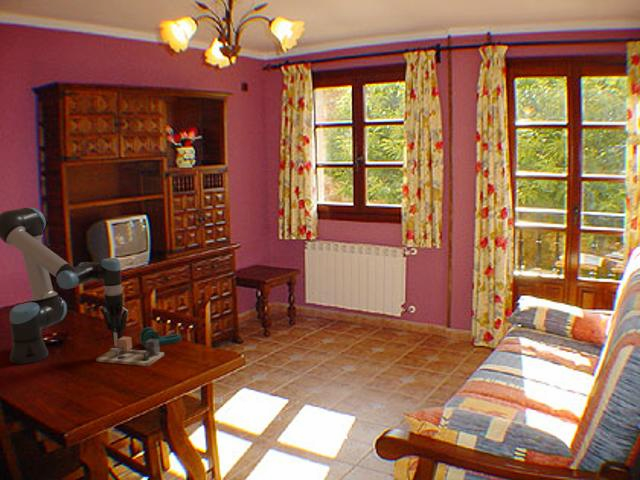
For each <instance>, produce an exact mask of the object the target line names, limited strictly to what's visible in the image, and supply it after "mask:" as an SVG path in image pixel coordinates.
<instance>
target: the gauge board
mask: <svg viewBox="0 0 640 480" xmlns="http://www.w3.org/2000/svg"><path fill="white" fill-rule="evenodd" d="M118 349H119V347H116V348H115V347H111V348H110V349H109V351H107V352H106V353H104V354H102V355H100V356H98V357H97V358H96V362H99V363H110V364H111V363H112V364H120V365H122V364H123V365H132V366H133V365H134V366H144V367H149V366H151V365H152V364H154V363H155V362H157V361H158V360H160V359H161V358H162V357H164V356H165V352H164V351H162V352H161V351H160V346H159V339H149V340H148V341H146V349H145V350H140V349H130V350H128V351H120V352H118V357H116V352H115V351H116V350H118Z"/></svg>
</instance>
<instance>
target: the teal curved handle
mask: <svg viewBox="0 0 640 480" xmlns="http://www.w3.org/2000/svg"><path fill="white" fill-rule="evenodd" d="M139 335H140V345H141V346H142V347H143V348H144V349H145V348H146V341H148V340H149V339H159V347H160V346H166V345H172V344H176V343H180V342H182V334H180V333H173V334H171V333H170V334H167V335H161V336H160V334H159V333H158V332H157V331H156V330H155V329H154V328H153V327H150V326H148V327H144V328H143V329H141V331H140V334H139Z"/></svg>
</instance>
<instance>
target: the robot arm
mask: <svg viewBox="0 0 640 480" xmlns="http://www.w3.org/2000/svg"><path fill="white" fill-rule="evenodd" d="M45 226H47V223H46V218H45V215H44V214H43V212H42V211H40V210H38V209H37V208H35V207H23V208H18V209H11V210H6V211H3V212H1V213H0V239H1V240H2V242H4V243H5V244H7V245H8V246H13V247H15V248H16V249H17V250H19V251H20V252H21V253H22V257H23V262H24V266H25V269H26V273H27V276H28V280H29V285H30V288H31V294H32V296H31V298H30V299H29V301H30V302H25V303H21V304H18V305H15V306H14V307H12V308H11V309H10V311H9V322H10V331H11V339H12V345H11V350H10V354H9V361H10V363H12V364H16V365H17V364H18V365H19V364H20V365H22V364H32V363H36V362H39V361H42V360H45V359H46V358H47V357H48V356H49V349H48V348H47V346H46V343H45V341H44V339H43V335H42V333H43V332H42V330H43V329H46V328H48V327H50V326H52V325H56V324H58V323H59V322H61V321H63V320H64V319H65V317H66V315H67V311H68V305H67V303H66V301H65V300H64V299H63V298H62V297H60V296H59V294H58V292H57V291H54V287H53V285H52V280H51V275H52V276H53V277H55V278H56V283H57V285H58V287H60V288H61V289H63V290H68V289H69V290H70V289H73V288H76V287H78V286H80V285H82V284H86V283H89V282H92V281H102V283H103V292H104V297H103V298H104V303H105V305H104V307H103V308H101V309H100V312H101V314H102V316H103V318H104V319H103V320H104V322H105V326H106V329H107V330H108V331H111V334H112V335H111V337H112V340H114V341H113V342H114V344H113V345H114V347H116V348H119V344H118V339H120V338H122V337H123V334H122V331H124V330H126V327H127V319H128V314H129V312H130V309H129V308H125V305H124V303H123V302H124V295H123V285H122V273H121V272H122V271H121V269H122V268H121V262H120V259H119V258H117V257H108V258H103V259H102V260H101V262H92V261H91V262H90V261H85V262H84V261H83V262H80V263H79V264H78V265H77V266H76V267H74V266H73V265H72V264H70V263H68V261H66V260H64V258H62V257H60V256H59V255H58V254H56V253H55V252H54V251H52V250H51V249H50V248H49V247H47V246H46V245H44V244H43V243H42V238H43V236H44V232H43V230H45ZM50 274H51V275H50Z"/></svg>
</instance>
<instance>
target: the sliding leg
mask: <svg viewBox="0 0 640 480" xmlns="http://www.w3.org/2000/svg"><path fill="white" fill-rule="evenodd" d="M118 344H119V346H118V350H116V351H115V352H116V357H118V352H120V351H128V350H132V348H133V342H132V337H131V336H122V338H120V339H118Z"/></svg>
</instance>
